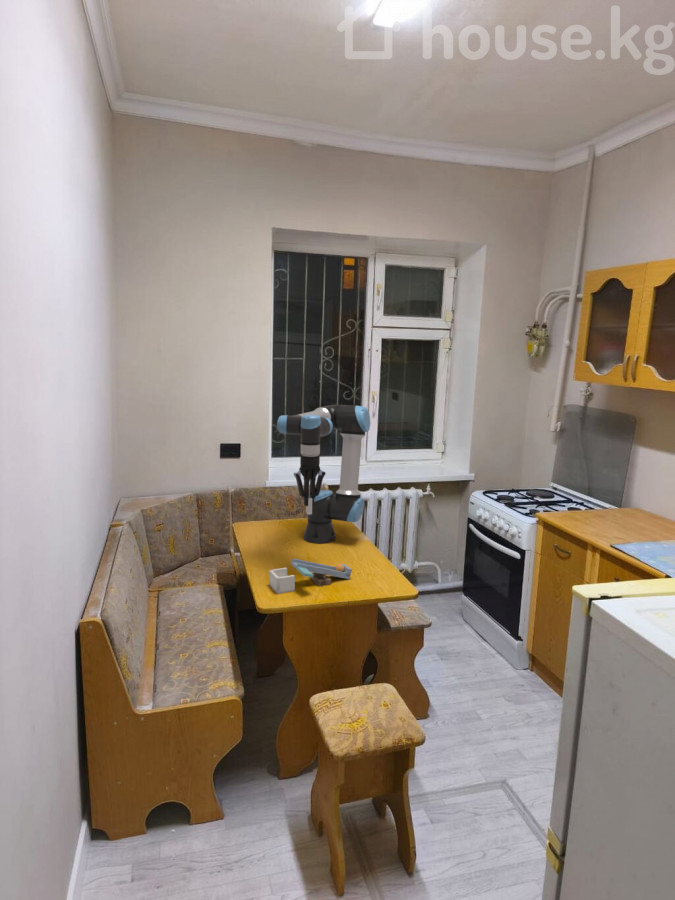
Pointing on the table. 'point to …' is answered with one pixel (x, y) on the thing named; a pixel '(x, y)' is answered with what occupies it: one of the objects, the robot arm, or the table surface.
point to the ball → (340, 568)
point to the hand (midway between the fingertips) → (308, 513)
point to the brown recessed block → (321, 579)
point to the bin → (281, 581)
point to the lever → (319, 569)
